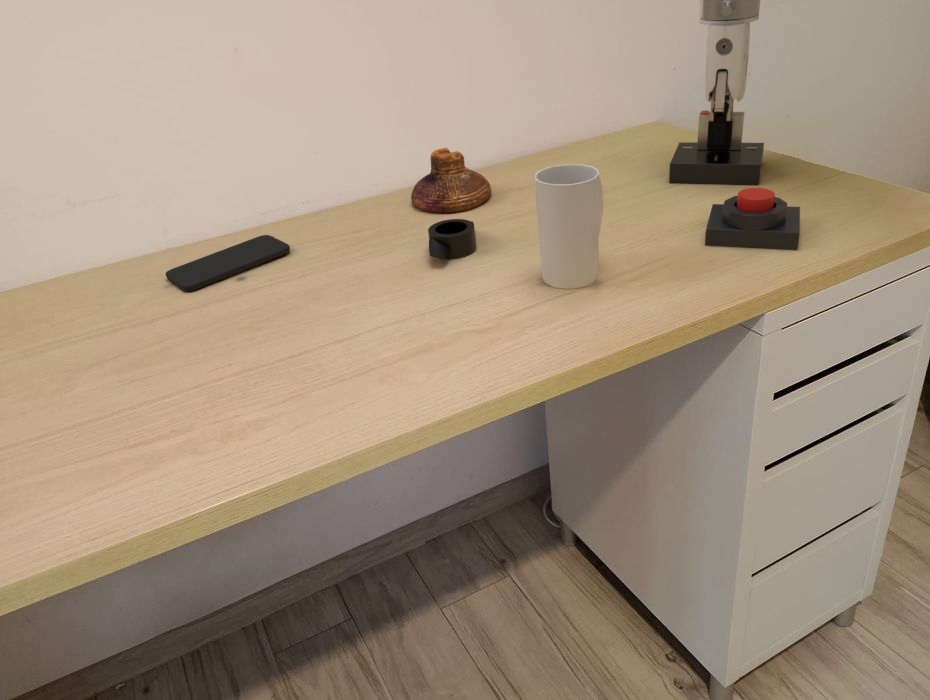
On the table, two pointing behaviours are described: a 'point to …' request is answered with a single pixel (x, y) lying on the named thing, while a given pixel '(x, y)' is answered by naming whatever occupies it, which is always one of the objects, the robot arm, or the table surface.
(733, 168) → the plate
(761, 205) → the button
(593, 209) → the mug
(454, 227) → the duct tape
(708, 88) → the robot arm
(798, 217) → the button box
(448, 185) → the bell
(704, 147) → the tap handle
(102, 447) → the table surface
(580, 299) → the table surface
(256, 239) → the phone
